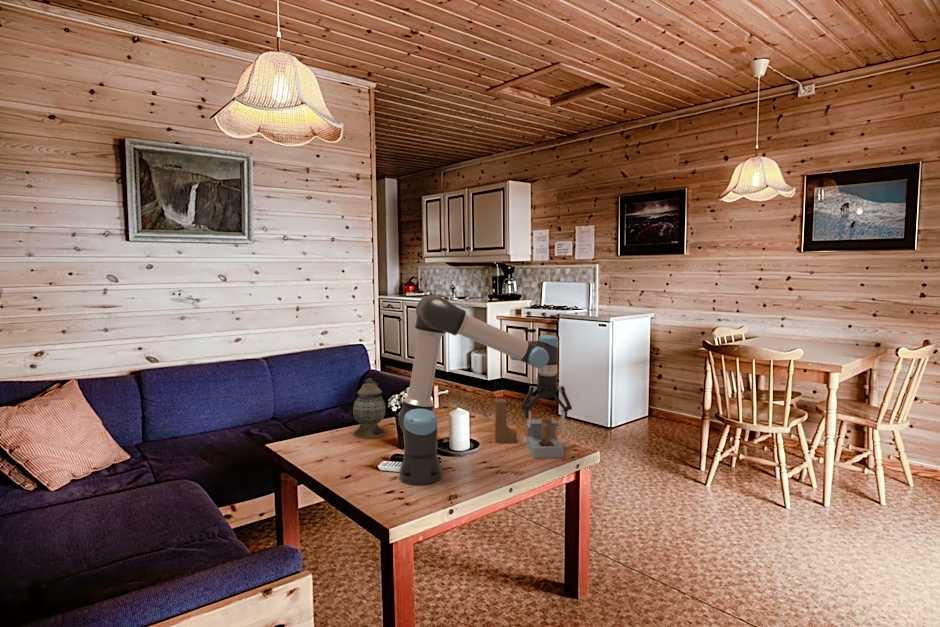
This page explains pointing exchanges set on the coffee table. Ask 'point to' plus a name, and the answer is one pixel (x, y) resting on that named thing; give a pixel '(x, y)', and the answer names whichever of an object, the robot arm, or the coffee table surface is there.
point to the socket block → (535, 441)
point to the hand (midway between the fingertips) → (545, 426)
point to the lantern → (369, 410)
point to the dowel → (546, 432)
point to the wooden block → (503, 424)
